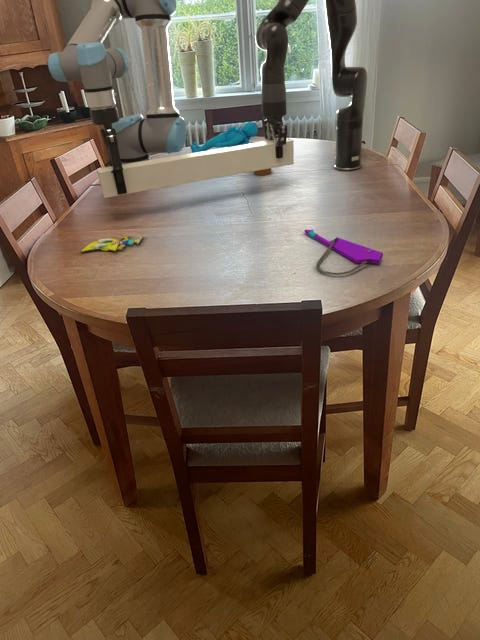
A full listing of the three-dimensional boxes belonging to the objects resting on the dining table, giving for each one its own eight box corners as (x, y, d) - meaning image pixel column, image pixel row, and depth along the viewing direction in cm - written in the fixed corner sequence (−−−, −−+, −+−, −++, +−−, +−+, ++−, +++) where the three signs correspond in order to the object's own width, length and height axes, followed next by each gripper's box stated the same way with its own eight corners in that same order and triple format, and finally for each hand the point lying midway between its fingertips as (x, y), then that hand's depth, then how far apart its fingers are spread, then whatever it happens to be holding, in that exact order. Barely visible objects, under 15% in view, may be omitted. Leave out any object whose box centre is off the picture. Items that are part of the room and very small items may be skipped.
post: (104, 198, 141) (98, 172, 137) (102, 193, 145) (96, 168, 141) (293, 164, 156) (293, 140, 152) (287, 160, 160) (286, 137, 156)
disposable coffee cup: (246, 176, 178) (244, 142, 172) (255, 168, 186) (253, 136, 179) (270, 177, 175) (269, 143, 168) (278, 169, 182) (277, 136, 176)
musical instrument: (365, 286, 105) (394, 240, 117) (364, 278, 104) (394, 233, 116) (270, 272, 118) (305, 232, 130) (268, 265, 117) (304, 225, 129)
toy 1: (132, 249, 128) (79, 250, 130) (133, 252, 128) (80, 253, 130) (143, 234, 136) (94, 235, 138) (144, 236, 137) (94, 237, 139)
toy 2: (196, 135, 215) (258, 116, 205) (204, 159, 220) (265, 140, 210) (184, 145, 202) (251, 124, 191) (193, 169, 207) (259, 151, 196)
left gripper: (121, 109, 125) (138, 196, 138) (112, 101, 140) (128, 181, 152) (92, 113, 123) (112, 201, 136) (86, 105, 138) (105, 185, 151)
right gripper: (295, 100, 141) (295, 159, 151) (275, 95, 153) (277, 149, 162) (271, 103, 140) (274, 163, 149) (253, 98, 151) (257, 153, 160)
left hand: (121, 190), depth 144 cm, fingers closed on post, 5 cm apart
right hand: (275, 155), depth 155 cm, fingers closed on post, 5 cm apart
